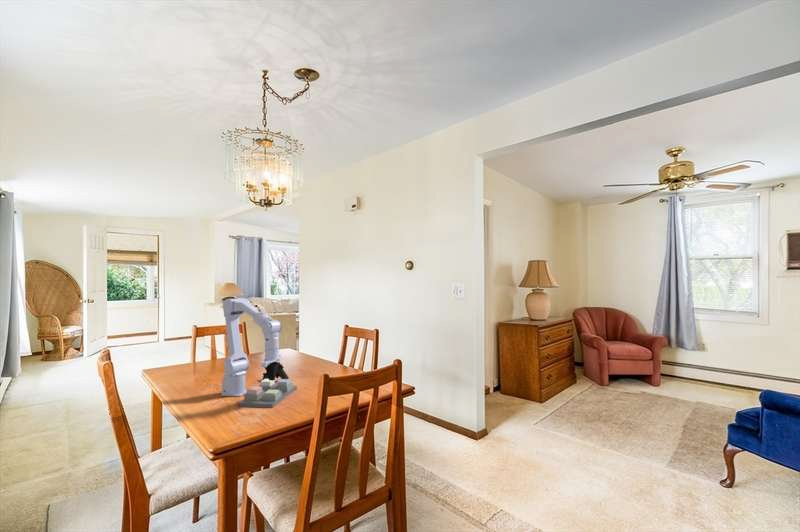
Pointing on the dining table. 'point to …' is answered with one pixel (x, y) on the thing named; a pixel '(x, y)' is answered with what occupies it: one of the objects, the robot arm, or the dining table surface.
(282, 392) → the control console
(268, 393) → the sage button
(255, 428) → the dining table surface
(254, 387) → the rose button
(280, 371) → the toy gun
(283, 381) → the slate button
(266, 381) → the cream button
